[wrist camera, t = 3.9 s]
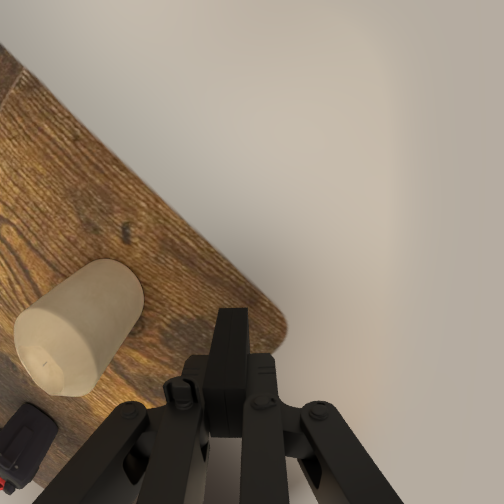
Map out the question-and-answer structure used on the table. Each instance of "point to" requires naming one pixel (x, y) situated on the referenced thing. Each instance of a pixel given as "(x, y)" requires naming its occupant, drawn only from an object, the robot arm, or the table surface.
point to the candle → (78, 327)
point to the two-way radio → (24, 446)
